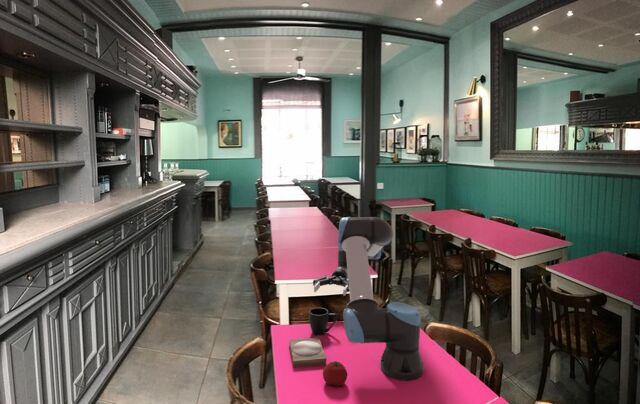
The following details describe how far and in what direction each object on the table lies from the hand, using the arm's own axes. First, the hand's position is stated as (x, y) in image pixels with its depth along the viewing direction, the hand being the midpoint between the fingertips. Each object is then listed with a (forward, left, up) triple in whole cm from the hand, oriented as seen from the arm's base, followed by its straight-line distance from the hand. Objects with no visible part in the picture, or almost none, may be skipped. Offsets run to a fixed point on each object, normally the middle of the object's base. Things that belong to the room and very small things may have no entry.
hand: (329, 291), depth 175 cm
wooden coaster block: (-14, +26, -15) cm, 33 cm away
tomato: (-34, +31, -15) cm, 49 cm away
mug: (-5, +9, -15) cm, 18 cm away
